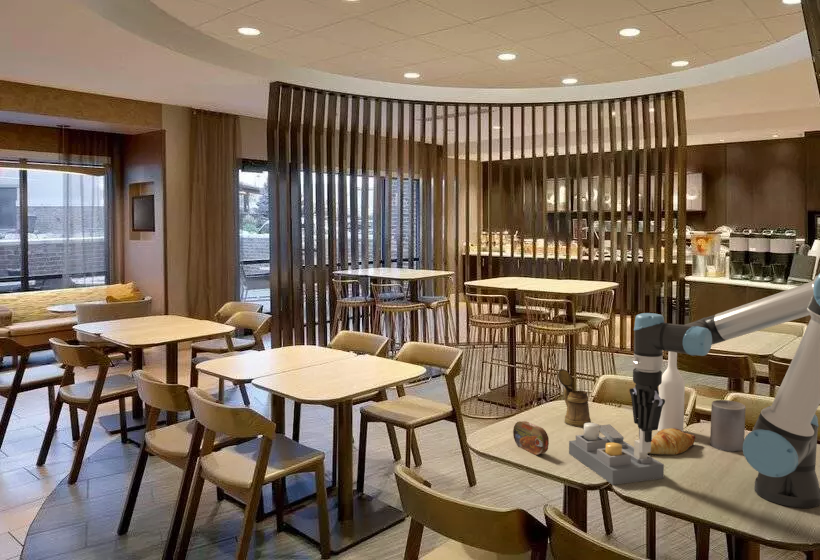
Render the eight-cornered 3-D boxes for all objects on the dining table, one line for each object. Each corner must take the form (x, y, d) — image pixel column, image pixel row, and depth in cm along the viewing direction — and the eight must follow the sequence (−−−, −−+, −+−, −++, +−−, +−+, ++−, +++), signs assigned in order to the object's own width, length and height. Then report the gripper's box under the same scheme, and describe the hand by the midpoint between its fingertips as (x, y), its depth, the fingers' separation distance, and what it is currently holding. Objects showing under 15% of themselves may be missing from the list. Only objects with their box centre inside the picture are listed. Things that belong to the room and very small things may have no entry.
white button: (601, 439, 188) (601, 426, 187) (588, 441, 187) (588, 428, 186) (593, 434, 192) (594, 422, 192) (580, 436, 191) (581, 423, 191)
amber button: (624, 460, 176) (625, 447, 176) (610, 462, 175) (611, 448, 175) (615, 455, 181) (616, 441, 180) (602, 456, 180) (602, 443, 179)
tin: (512, 443, 204) (512, 418, 203) (520, 442, 206) (520, 416, 205) (542, 459, 191) (542, 432, 190) (550, 457, 192) (550, 430, 191)
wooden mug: (568, 414, 234) (569, 366, 232) (596, 424, 222) (597, 374, 221) (550, 418, 230) (551, 369, 228) (578, 428, 218) (579, 377, 216)
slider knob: (647, 459, 178) (647, 442, 178) (639, 460, 177) (639, 443, 177) (641, 456, 181) (642, 439, 180) (633, 457, 180) (634, 440, 180)
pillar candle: (712, 438, 207) (714, 394, 205) (746, 444, 201) (747, 398, 200) (707, 448, 199) (709, 402, 197) (742, 454, 193) (744, 406, 192)
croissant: (651, 469, 191) (662, 450, 187) (629, 445, 199) (639, 426, 194) (700, 455, 201) (710, 437, 196) (677, 433, 208) (687, 415, 204)
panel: (663, 478, 176) (664, 455, 175) (612, 484, 172) (613, 461, 171) (614, 448, 199) (615, 428, 198) (568, 453, 195) (569, 432, 194)
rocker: (622, 442, 190) (623, 437, 190) (612, 443, 190) (613, 438, 189) (609, 429, 198) (610, 424, 197) (599, 430, 197) (599, 425, 196)
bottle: (679, 428, 218) (682, 342, 215) (686, 435, 210) (689, 347, 207) (655, 427, 219) (657, 341, 216) (660, 434, 211) (663, 346, 208)
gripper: (621, 364, 180) (619, 445, 182) (650, 375, 167) (647, 461, 170) (644, 363, 182) (642, 442, 184) (674, 373, 169) (671, 458, 172)
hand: (644, 451), depth 177 cm, fingers closed
